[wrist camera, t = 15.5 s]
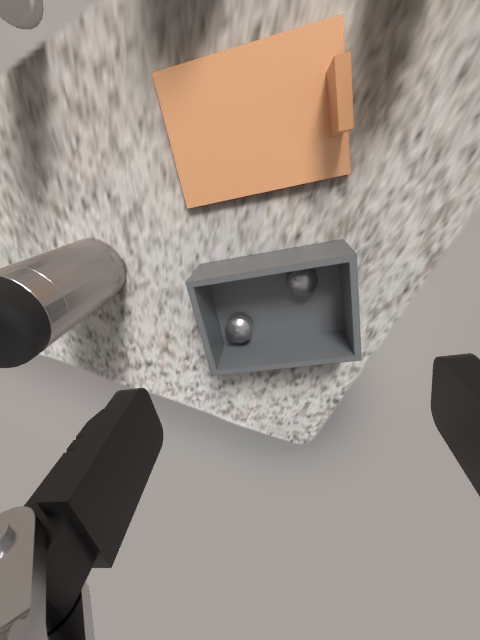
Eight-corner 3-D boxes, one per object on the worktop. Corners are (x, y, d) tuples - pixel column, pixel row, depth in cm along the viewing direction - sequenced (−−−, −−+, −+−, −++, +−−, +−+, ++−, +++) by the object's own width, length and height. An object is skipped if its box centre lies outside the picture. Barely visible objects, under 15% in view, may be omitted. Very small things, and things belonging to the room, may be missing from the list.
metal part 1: (242, 340, 49) (240, 347, 46) (222, 325, 48) (219, 332, 46) (258, 323, 47) (257, 330, 45) (237, 307, 46) (235, 313, 44)
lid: (190, 207, 42) (174, 214, 36) (156, 76, 36) (130, 56, 30) (348, 173, 38) (362, 174, 32) (340, 20, 32) (355, -16, 26)
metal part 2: (288, 291, 44) (289, 298, 42) (285, 265, 43) (285, 270, 40) (317, 287, 44) (319, 293, 41) (314, 260, 42) (316, 265, 40)
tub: (221, 346, 50) (212, 375, 43) (200, 264, 45) (185, 282, 38) (348, 331, 47) (361, 360, 40) (342, 238, 41) (356, 253, 34)
